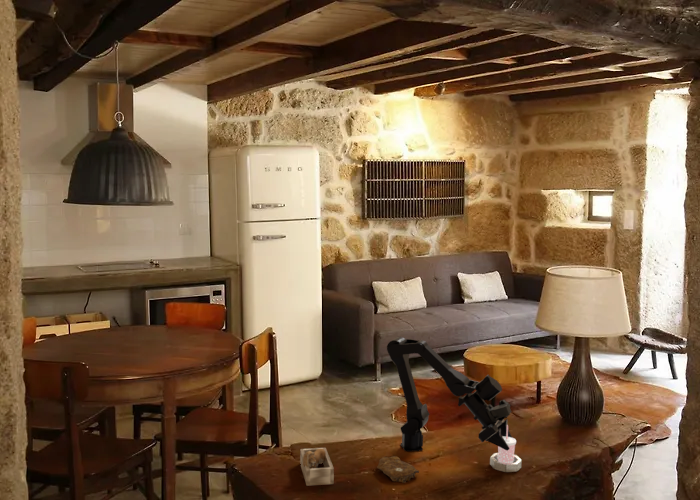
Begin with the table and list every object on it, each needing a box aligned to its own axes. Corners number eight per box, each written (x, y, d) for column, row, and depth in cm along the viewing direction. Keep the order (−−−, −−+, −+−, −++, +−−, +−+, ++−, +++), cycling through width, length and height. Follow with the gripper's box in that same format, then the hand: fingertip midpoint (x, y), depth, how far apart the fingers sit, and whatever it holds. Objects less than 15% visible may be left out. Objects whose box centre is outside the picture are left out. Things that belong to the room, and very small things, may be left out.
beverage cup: (518, 467, 235) (520, 426, 233) (505, 471, 231) (507, 429, 230) (505, 460, 240) (507, 420, 238) (492, 464, 236) (494, 424, 235)
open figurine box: (306, 485, 218) (306, 470, 217) (300, 463, 234) (300, 449, 233) (333, 483, 219) (333, 468, 219) (325, 462, 235) (325, 447, 235)
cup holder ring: (497, 472, 230) (497, 465, 230) (486, 460, 239) (486, 453, 239) (525, 470, 232) (525, 463, 231) (513, 459, 241) (513, 452, 241)
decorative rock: (367, 470, 231) (395, 489, 219) (367, 458, 231) (396, 477, 218) (394, 460, 238) (424, 478, 226) (394, 449, 237) (424, 466, 225)
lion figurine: (314, 482, 219) (314, 455, 218) (298, 480, 221) (298, 452, 220) (331, 464, 233) (331, 438, 232) (316, 462, 235) (316, 436, 234)
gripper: (489, 402, 226) (522, 442, 223) (503, 387, 243) (534, 423, 239) (464, 422, 230) (496, 461, 227) (480, 405, 247) (510, 441, 244)
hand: (510, 446), depth 234 cm, fingers closed on beverage cup, 6 cm apart
